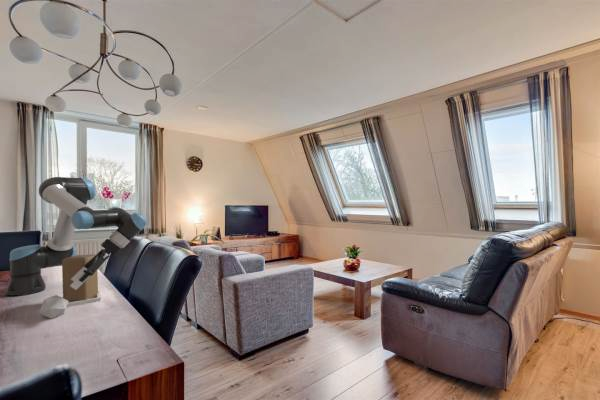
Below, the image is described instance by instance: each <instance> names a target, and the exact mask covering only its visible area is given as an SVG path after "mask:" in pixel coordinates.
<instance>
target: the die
mask: <svg viewBox="0 0 600 400" xmlns="http://www.w3.org/2000/svg"><path fill="white" fill-rule="evenodd" d="M62 297H63V296H60V295H58V294H55V295H52V296H49V297H46V298H44V299H43V301H42V304H41V307H40V309H39V311H38V313H39V314H41V315H43V316H45V317H46V318H49V319H51V320H52V319H55V318H58V317H59V316H62V315H64V314H65V312H66V310H67V309H66V308H68V307H67V304H68V300H66V299H64V298H62Z"/></svg>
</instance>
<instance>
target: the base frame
mask: <svg viewBox="0 0 600 400" xmlns="http://www.w3.org/2000/svg"><path fill="white" fill-rule="evenodd" d="M61 297H62V298H63V296H61ZM101 298H102V297H101V293H100V290H98V294H97V296H96V297H95V298H92V299H87V300H81V301H75V302H69V303H68V304H67V307H66V308H70V307H74V306H76V307H77V306H79V305H80V306H81V305H86V304H91V303H97V302H96V301H98V302H101V301H100V300H102V299H101Z"/></svg>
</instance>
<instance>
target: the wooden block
mask: <svg viewBox="0 0 600 400" xmlns="http://www.w3.org/2000/svg"><path fill="white" fill-rule="evenodd" d="M95 255H96V254H93V253H92V254H76V255H75V256H72V257H68V258H65V259H63V260H62V266H61V268H62V271H61V272H62V274H61V275H62V297H63V298H64V299H66V300H68V303H69V302H75V301H81V300H87V299H92V298H97V294H98V291H99V280H98V279H99V278H98V277H99V276H98V270H97V271H96V272H95V273H94V274H93V275H92V276H90V277H89V278H88V279H87V280H86V281H85V282H84V283H83V284H82V285H81V286H80V287H79V288H78V289H77V290H75V289H74V288H72V287H71V286H70V285H71V284H72V283H73V282H74V281H73V280H71V278H72V277H73V276H74V275H76V274H77V273H78V272H79V271H80V270H81V269H82V268H83V267H84V266H85V264H86V263H87V262H88V261H90V260H91V259H92V258H93V257H94V256H95Z"/></svg>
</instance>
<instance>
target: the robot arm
mask: <svg viewBox="0 0 600 400" xmlns="http://www.w3.org/2000/svg"><path fill="white" fill-rule="evenodd" d="M38 195H39V197H40V198H41V200H43V201H44V202H46V203H48V204H52V205H54V206H55V207H57V208H58V209H59V210H60V211H59V214H58V218H57V220H56V222H55V223H56V224H55V227H54V230H53V233H52V234H53V235H52V237H51V239H49V240H47V242H46V244H45V245H44V246H41V245H40V244H32V245H31V244H30V245H26V246H25V245H24V246H20V247H17V248H14V249H12V250H10V253H9V259H8V260H9V269H10V273H9V275H10V276H9V277H10V279H9V281H8V284H7V287H6V290H5V295H20V296H24V295H23V294H27V295H30V294H29V293H32V294H35V293H34V292H36V293H39V292H38V291H40V292H42V291H41V290H43V291H45V290H46V289H45V288H46V282H45V280H44V279H43V276H42V269H47V268H54V267H60V266H61V267H62V260H63V259H65V258H68V257H72V256H76V255H77V252H76V251H77V249H76V246H75V244H74V243H73V241H72V240H73V238H74V234H75V230H76V229H77V230H89V229H97V228H100V229H101V228H108V227H109V228H111V227H117V229H115V231H112V232H111V234H110V236H108V237H109V238H106V239H105V240H104V241H103V242H102V243H101V245H100V246H101V247H102V249H101V250H99V251H98V252H97V254H95V256H94V257H93V258H92V259H91V260H90V261H88V262H87V263H86V264H85V266H84V267H83V268H82V269H81V270H80V271H79V272H78V273H77V274H76V275H74V276H73V277H72V278H71V280H73V281H74V282H73V283H72V284H71V285H70V286H71V287H72V288H74V289H75V290H77V289H78V288H79V287H80V286H81V285H82V284H83V283H84V282H85V281H86V280H87V279H88V278H89V277H90V276H92V275H93V274H94V273H95V272H96V271H97V272H98V270H99V269H100V267H101V266H102V265H104V263H105V262H106V261H107V260H108V258H110V254H112V255H113V256H117V255H118V254H119V253H120V252H121V251H122V249H124V248H125V247H126V246H127V245H128V244H129V243H130V242H131V241H132V239H134V238H135V237H136V236H137V235H138V234H139V233H140V232H141V231H143V229H144V228H145V227H146V225H147V224H148V221H147V220H146V218H145V217H144V216H142V215H141V214H140V213H138V212H134V213H133V212H132V214H130V213H129V212H128V211H126V210H125V209H123V208H121V207H119V206H111V207H108V209H104V210H103V209H101V210H100V209H99V210H94V209H93V208H91V207H89V206H88V205H87V204H88V201H92V200H93V199H95V197H96V187H95V185H94V183H93V181H92V180H91V179H89V178H85V177H65V176H64V177H62V176H54V177H50V178H47V179H45V180H44V181H42V182H41V184H40V185H39V187H38ZM44 289H45V290H44Z"/></svg>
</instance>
